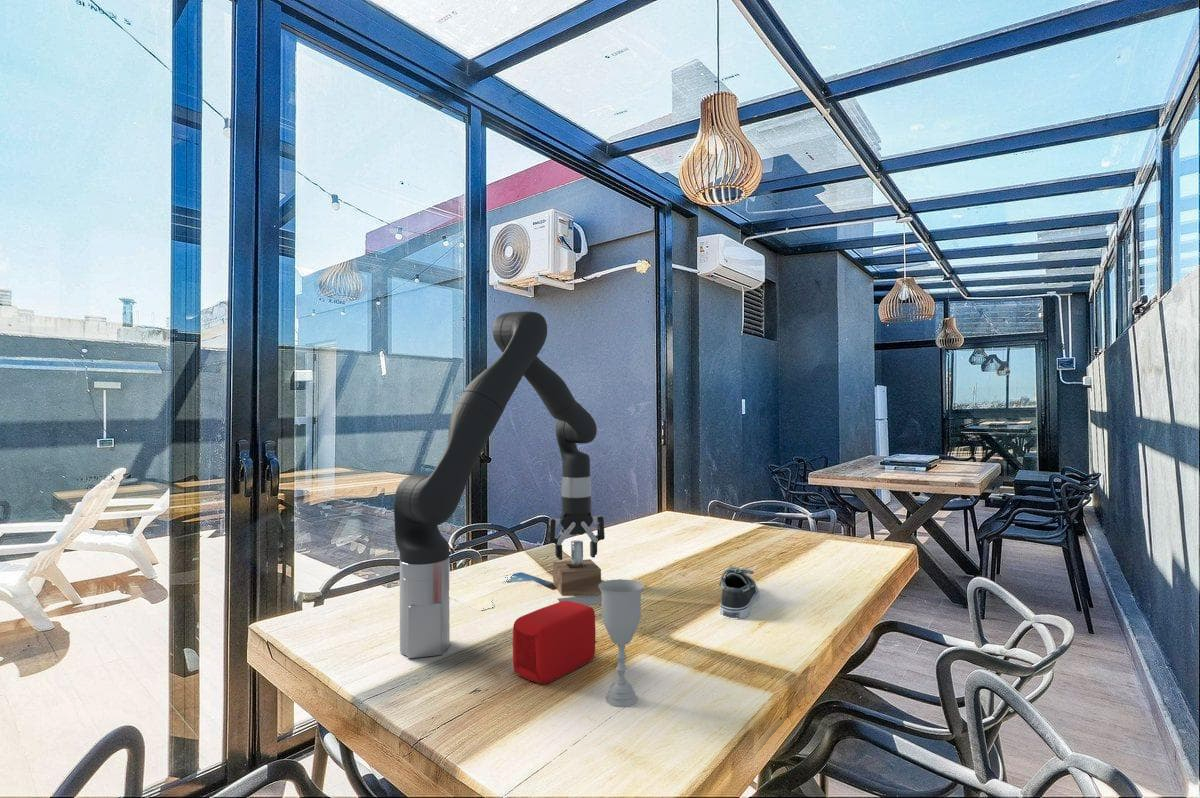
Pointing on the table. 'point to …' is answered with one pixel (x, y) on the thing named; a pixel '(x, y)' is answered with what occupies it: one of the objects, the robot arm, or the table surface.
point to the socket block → (576, 578)
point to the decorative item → (553, 641)
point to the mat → (584, 600)
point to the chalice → (621, 630)
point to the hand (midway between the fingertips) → (576, 558)
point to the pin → (577, 554)
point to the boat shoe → (737, 592)
